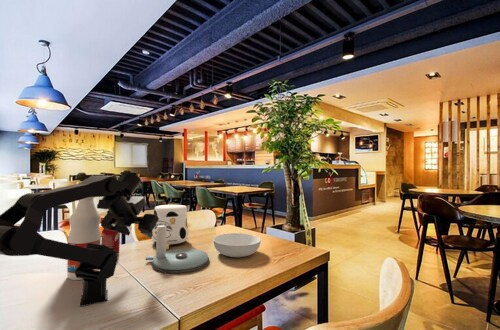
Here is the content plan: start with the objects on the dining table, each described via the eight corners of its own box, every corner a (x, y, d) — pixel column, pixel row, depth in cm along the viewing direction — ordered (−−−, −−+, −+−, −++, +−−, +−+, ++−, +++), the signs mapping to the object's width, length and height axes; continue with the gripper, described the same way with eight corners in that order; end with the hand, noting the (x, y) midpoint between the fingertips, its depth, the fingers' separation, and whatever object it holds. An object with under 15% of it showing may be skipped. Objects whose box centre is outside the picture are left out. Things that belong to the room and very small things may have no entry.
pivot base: (217, 267, 97) (217, 254, 97) (156, 278, 86) (156, 263, 86) (198, 249, 118) (198, 238, 118) (147, 256, 107) (147, 244, 107)
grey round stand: (215, 264, 97) (216, 230, 97) (151, 275, 86) (152, 236, 86) (198, 248, 115) (199, 219, 116) (144, 255, 104) (145, 224, 104)
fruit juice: (105, 272, 90) (108, 193, 90) (78, 283, 82) (81, 195, 82) (88, 267, 94) (90, 191, 94) (60, 277, 85) (63, 193, 86)
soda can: (111, 258, 103) (112, 229, 104) (97, 257, 105) (97, 227, 105) (122, 253, 110) (123, 225, 110) (109, 252, 111) (110, 224, 112)
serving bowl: (268, 259, 107) (268, 243, 107) (219, 265, 99) (220, 247, 99) (250, 245, 126) (250, 231, 126) (208, 249, 118) (208, 234, 119)
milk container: (149, 249, 115) (150, 210, 116) (152, 239, 132) (153, 204, 132) (189, 247, 120) (189, 209, 120) (187, 237, 137) (188, 204, 137)
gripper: (157, 189, 84) (173, 218, 94) (109, 187, 89) (130, 215, 99) (139, 217, 76) (159, 245, 86) (88, 212, 80) (113, 240, 91)
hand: (140, 235), depth 90 cm, fingers open, 9 cm apart
